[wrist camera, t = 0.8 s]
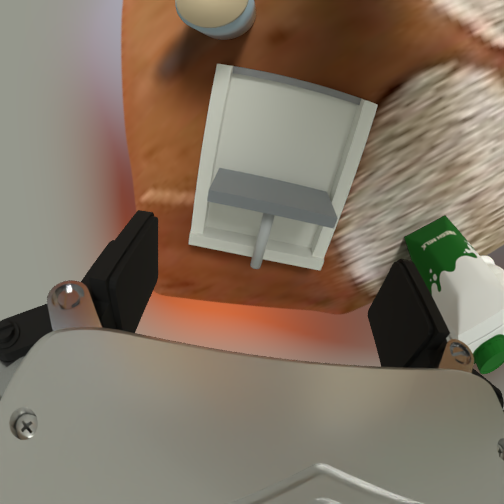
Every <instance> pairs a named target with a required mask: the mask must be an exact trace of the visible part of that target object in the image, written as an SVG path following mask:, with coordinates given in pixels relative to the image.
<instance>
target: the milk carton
mask: <svg viewBox="0 0 504 504" xmlns="http://www.w3.org/2000/svg"><path fill="white" fill-rule="evenodd" d="M404 238H405V241H406V244H407V247H408V250H409V253H410V257H411V260H412V262H413V263H414V264H415V266H416V268H417V269H418V271H419V273H420V275H421V277H422V278H423V280H424V282H425V284H426V286H427V288H428V289H429V291H430V293H431V295H432V297H433V299H434V301H435V303H436V305H437V307H438V309H439V311H440V313H441V315H442V317H443V319H444V321H445V323H446V325H447V327H448V329H449V332H450V334H449V335H448V337H447V338H446V339H447V342H448V341H449V340H451V339H457V340H460V341H462V342H464V343H465V344H466V345H467V346H468V347H469V349H470V350H471V352H472V354H473V357H474V364H475V363H476V364H477V367H478V369H479V371H480V373H481V374H487V373H490V372H492V371H494V370H495V369H497V368H498V367H499V366H501V365H502V364H503V363H504V287H503V285H502V284H501V283H500V282H499V280H498V279H497V277H496V276H495V275H494V273H493V272H492V271H491V269H490V268H489V267H488V266H487V264H486V263H485V262H484V260H483V259H482V258H481V257H480V255H479V254H478V253H477V252H476V251H475V249H474V248H473V247H472V246H471V245H470V243H469V242H468V241H467V240H466V239H465V237H464V236H463V235H462V234H461V233H460V232H459V230H458V229H457V228H456V227H455V226H454V225H453V224H452V223H451V221H450V220H449V219H448V218H447V217H446V216H443V217H441V218H439V219H437V220H436V221H434V222H432V223H430V224H428V225H426V226H424V227H423V228H421V229H419V230H417V231H415V232H413V233H411V234H409V235H407V236H405V237H404Z"/></svg>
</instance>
